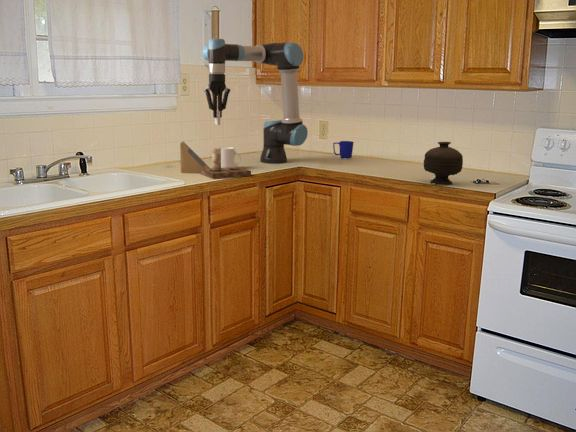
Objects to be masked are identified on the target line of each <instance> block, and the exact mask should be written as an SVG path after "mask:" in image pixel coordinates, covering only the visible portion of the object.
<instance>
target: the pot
mask: <svg viewBox="0 0 576 432" xmlns="http://www.w3.org/2000/svg"><path fill="white" fill-rule="evenodd" d="M437 144H438V145H439V146H436V147H433V148H430V149H429V150H427V151H426V152H425V154H424V160H423V169H424V170H425V172H428V173H431V174H433V175H435V177H434V178H433V179H431V180H430V182H431V183H430V182H429V183H430V184H432V183H435V184H434V185H437V184H452V185H453V181H451V180H450V179H449V176H455V175H457V174H459V173H461V171H462V169H463V167H464V159H463V154H462V153H461V152H460V151H459V150H458V149H456V148H453V147H450V146H449V145H451V144H452V142H451V141H439V142H437Z"/></svg>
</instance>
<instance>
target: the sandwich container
mask: <svg viewBox="0 0 576 432" xmlns="http://www.w3.org/2000/svg"><path fill="white" fill-rule="evenodd" d="M179 147H180V148H179V149H180V150H179V153H180V174H201V169H211V168H212V167H210V166H209V165H208V164H207V163H206V162H205V161H204V160H203V159H202V157H200V156H199V155H197V153H196V152H194V150H193V149H192V148H191V147H190V146H189V145H188V144H187V143H185V141H181V142H179Z"/></svg>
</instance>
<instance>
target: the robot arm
mask: <svg viewBox="0 0 576 432" xmlns="http://www.w3.org/2000/svg"><path fill="white" fill-rule="evenodd" d="M202 57H203V59H204V60H206V61H208V73H209V74H208V85H207V87H206V88H204V89H203V91H204V94H205V97H206V101H207V105H208V109H209V110H211V111H212V114H213V116H212V117H213V119H214V125H216V126H221V118H222V117H223V115H222V114H223V112H222V111H224V110H226V109H227V103H228V99H229V98H228V97H229V94H230V92H231V88H228V87H227V85H226V74H225V73H226V62H255V63H256V64H263V65H268V66H276V67H277V71H278V72H279V73H280V81H281V82H280V83H281V84H280V85H281V96H282V97H281V99H282V111H283V112H282V113H283V119H282V120H281V119H279V120H268V121H267V120H266V121H264V123H263V148H262V151H261V153H260V157H259V159H260V160H259V161H260V162H261V163H264V164H266V163H267V164H284V163H287V161H288V158H287V154H286V151H285V150H286V149H285V145H288V146H292V147H295V146H296V147H299V146H302V145H303V144H304V143H305V142H306V140H307V138H308V132H309V131H308V127H307V126H306V125H305V124H303V122H304V121H303V119H302V118H301V117H300V108H299V107H300V103H299V102H300V101H299V89H298V72H299V70H300V65H302V64H303V61H304V52H303V49H302V47H301V46H300V44H298V43H296V42H289V41H288V42H271V43H265V44H256V45H254V46H252V45H242V44H235V43H234V44H233V43H230V44H229V43H226V41H225V39H224V38H209V40H208V44H206V45H205V46H203V49H202Z"/></svg>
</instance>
